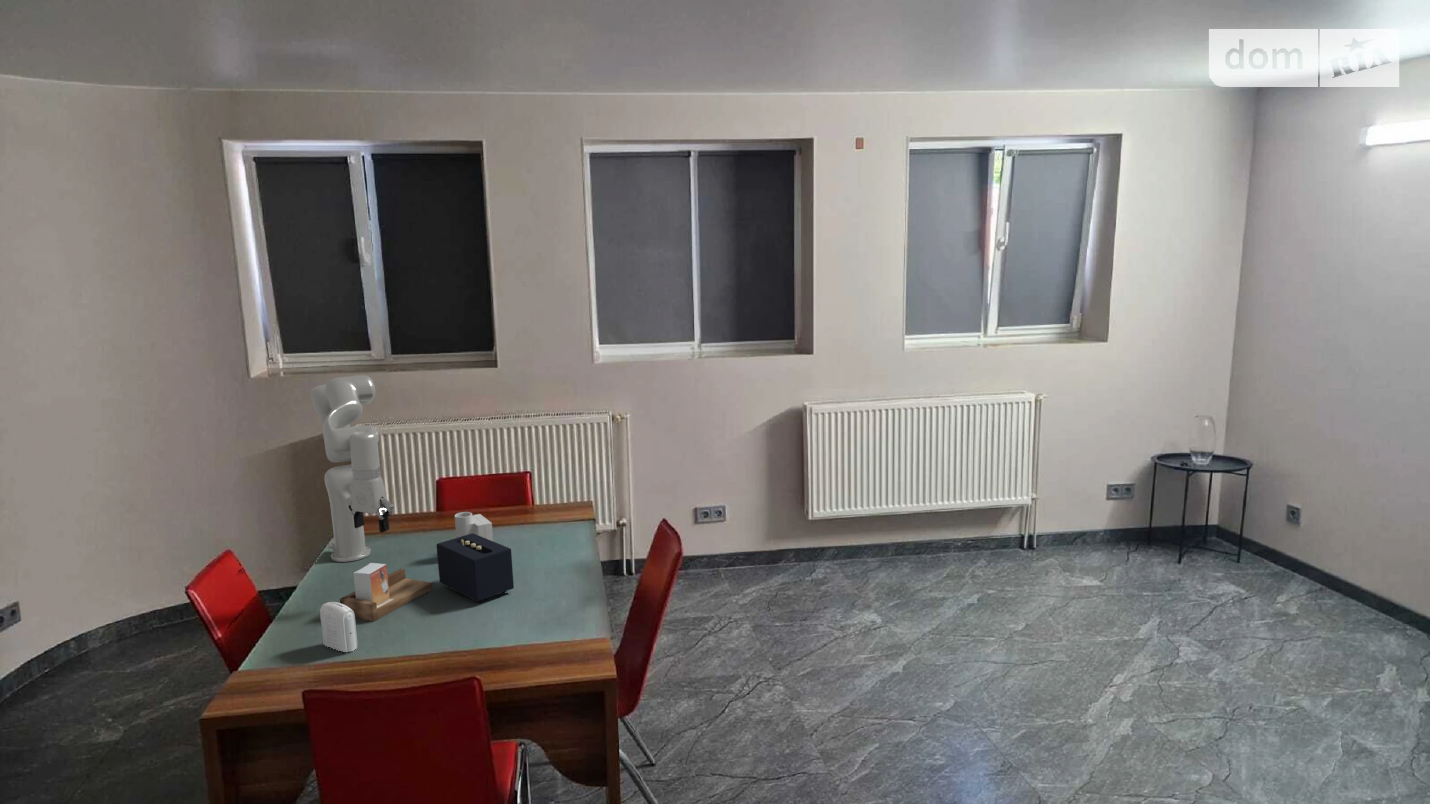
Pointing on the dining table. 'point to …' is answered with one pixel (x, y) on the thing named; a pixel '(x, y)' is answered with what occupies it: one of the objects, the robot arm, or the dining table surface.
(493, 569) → the speaker
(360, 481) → the robot arm
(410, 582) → the wooden tray
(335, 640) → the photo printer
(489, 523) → the white desk organizer
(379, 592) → the small box
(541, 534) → the dining table surface
